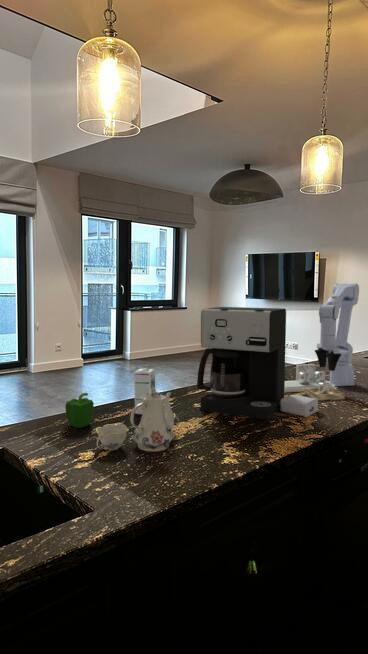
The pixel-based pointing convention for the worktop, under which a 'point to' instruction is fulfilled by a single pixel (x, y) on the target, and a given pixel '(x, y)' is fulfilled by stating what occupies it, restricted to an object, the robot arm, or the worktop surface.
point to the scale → (294, 385)
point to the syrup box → (143, 385)
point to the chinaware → (144, 425)
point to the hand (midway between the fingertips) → (327, 368)
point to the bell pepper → (79, 411)
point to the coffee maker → (243, 360)
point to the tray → (332, 396)
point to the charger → (298, 405)
